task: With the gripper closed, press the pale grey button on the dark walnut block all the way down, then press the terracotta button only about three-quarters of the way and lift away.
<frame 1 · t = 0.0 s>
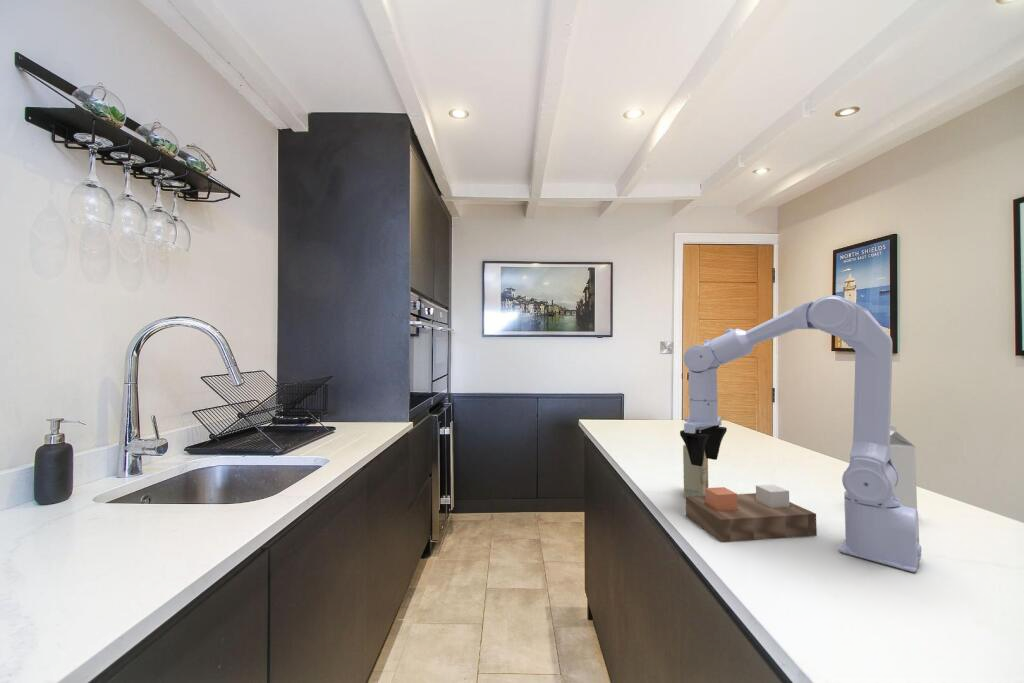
hand: (704, 462, 92), 10 cm above the countertop, tool pointing down, fingers open, 7 cm apart
grey button: (772, 498, 83), point 5 cm above the countertop, slide at 0.0 cm
skincare box: (696, 496, 100), on the countertop
button block: (747, 525, 82), on the countertop
milk carton: (884, 515, 87), on the countertop
terracotta button: (721, 501, 82), point 5 cm above the countertop, slide at 0.0 cm
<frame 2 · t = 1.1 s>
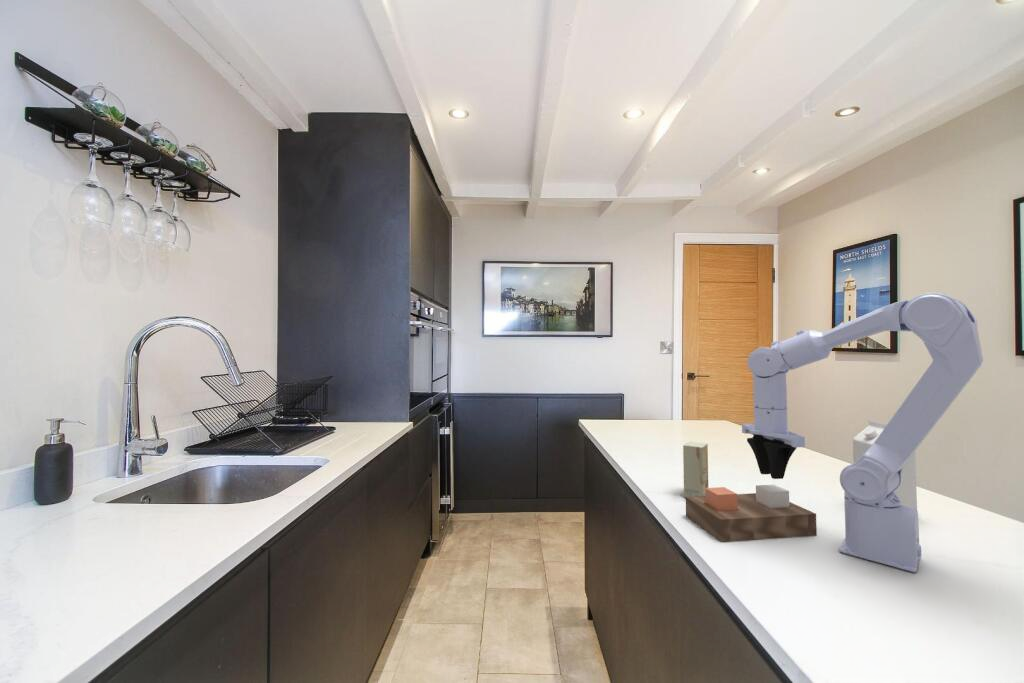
hand: (771, 476, 83), 9 cm above the countertop, tool pointing down, fingers closed
nothing on the countertop moved.
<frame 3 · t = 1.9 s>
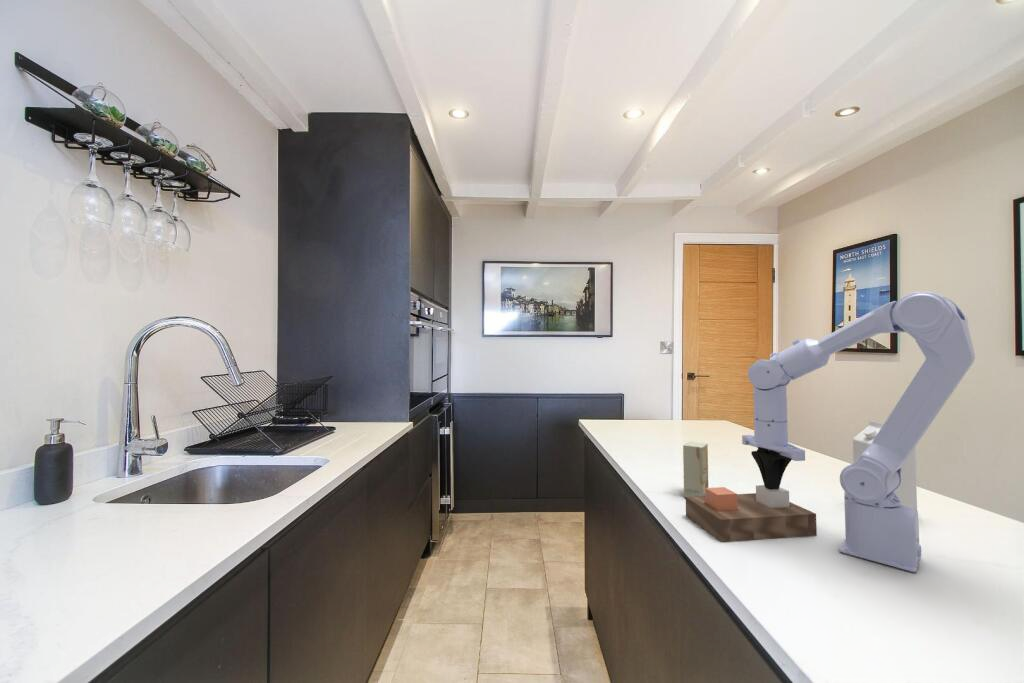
hand: (771, 488, 83), 7 cm above the countertop, tool pointing down, fingers closed, pressing on grey button
grey button: (772, 498, 83), point 5 cm above the countertop, slide at 0.0 cm, touching gripper
everything else where it was.
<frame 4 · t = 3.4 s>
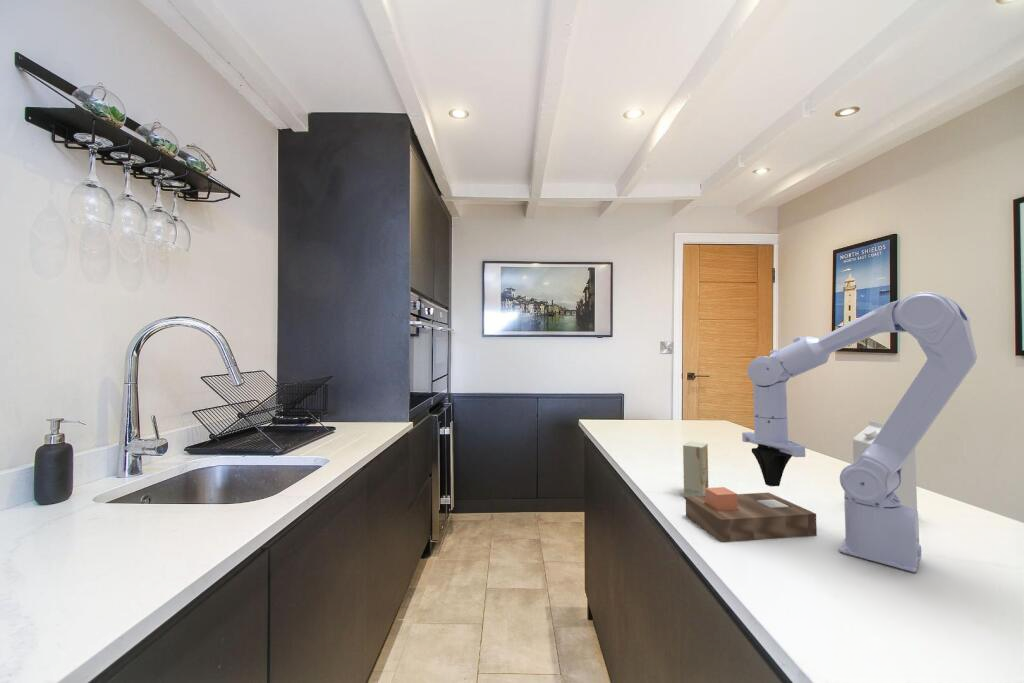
hand: (772, 485, 83), 8 cm above the countertop, tool pointing down, fingers closed
grey button: (772, 513, 83), point 2 cm above the countertop, slide at 3.0 cm
everything else where it was.
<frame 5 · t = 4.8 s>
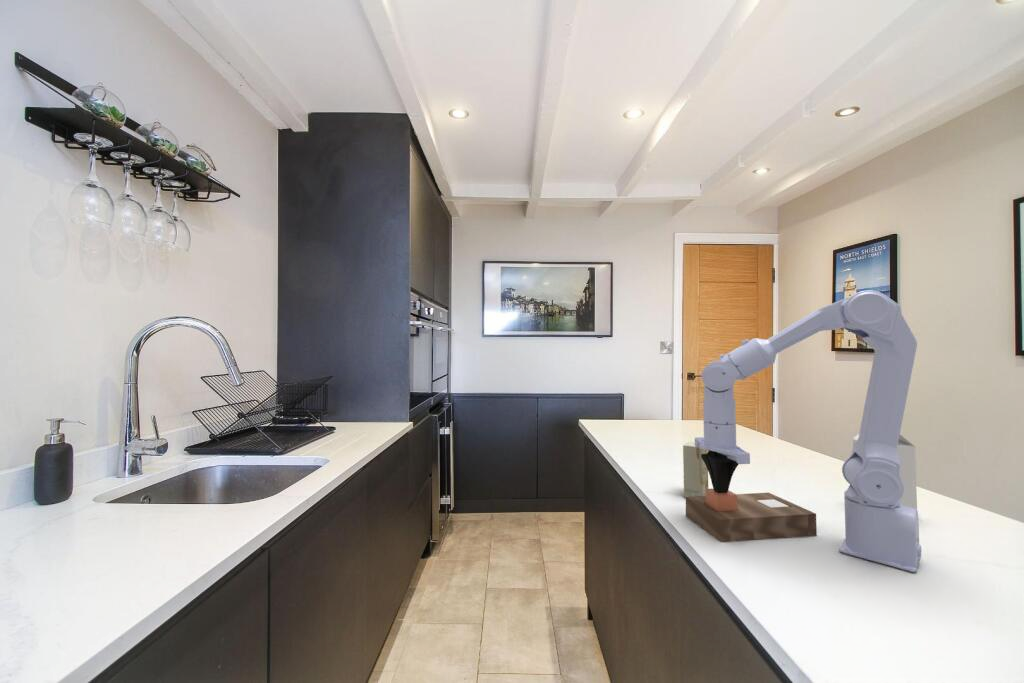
hand: (720, 491, 82), 7 cm above the countertop, tool pointing down, fingers closed, pressing on terracotta button
terracotta button: (721, 502, 82), point 5 cm above the countertop, slide at 0.2 cm, touching gripper
everything else where it was.
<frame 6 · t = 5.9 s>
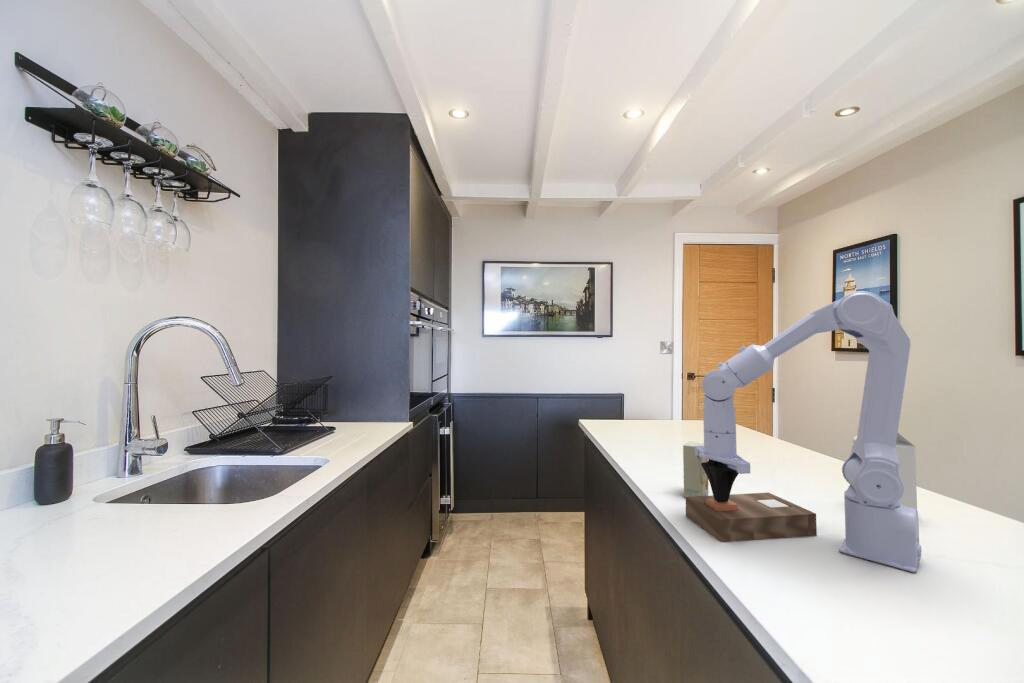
hand: (721, 500, 82), 5 cm above the countertop, tool pointing down, fingers closed
terracotta button: (721, 511, 82), point 3 cm above the countertop, slide at 2.0 cm
everything else where it was.
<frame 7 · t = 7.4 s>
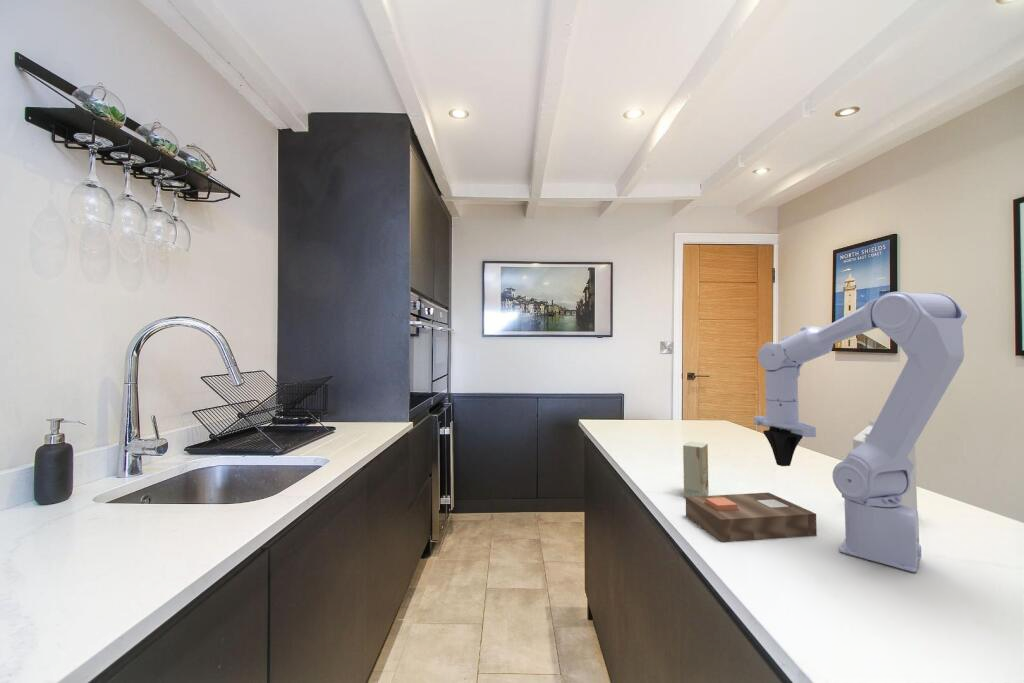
hand: (783, 465, 87), 10 cm above the countertop, tool pointing down, fingers closed
nothing on the countertop moved.
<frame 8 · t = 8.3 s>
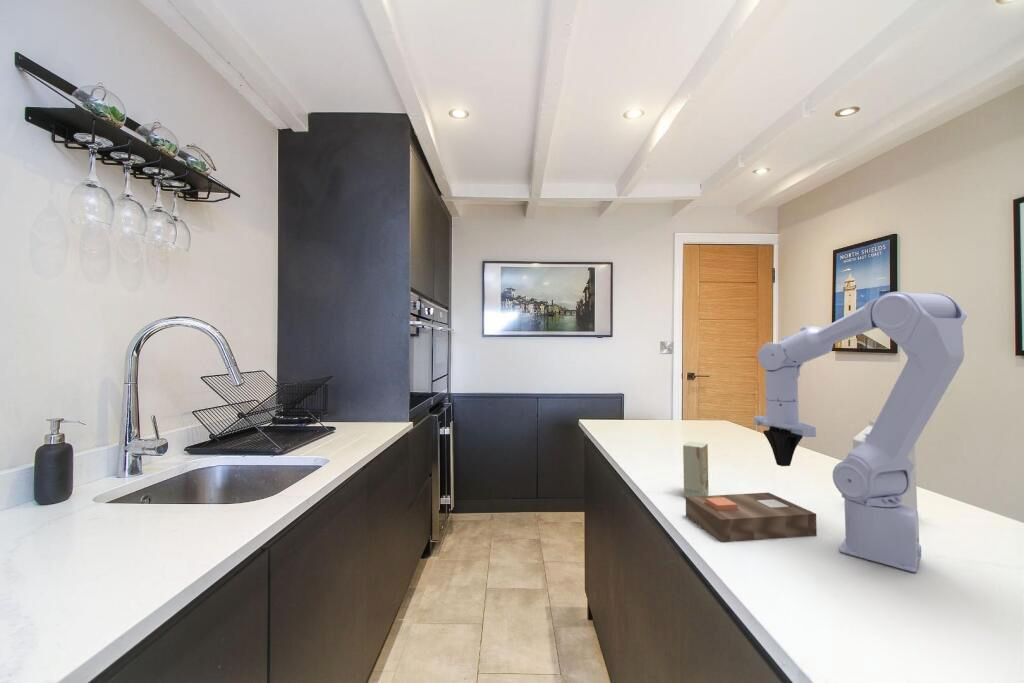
hand: (783, 465, 87), 10 cm above the countertop, tool pointing down, fingers closed
nothing on the countertop moved.
at the end: grey button slide at 3.0 cm; terracotta button slide at 2.0 cm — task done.
